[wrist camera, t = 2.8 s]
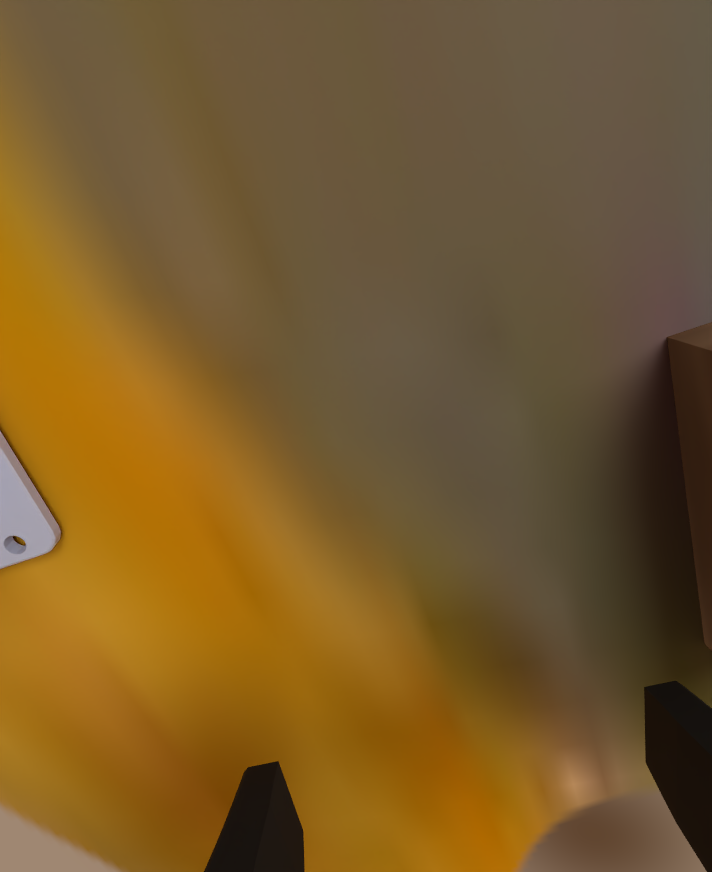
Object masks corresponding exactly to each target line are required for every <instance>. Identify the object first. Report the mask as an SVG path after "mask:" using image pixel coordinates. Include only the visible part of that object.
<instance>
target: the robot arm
mask: <svg viewBox="0 0 712 872" xmlns="http://www.w3.org/2000/svg"><path fill="white" fill-rule="evenodd" d="M13 536H18V537H20V538H22V539H23V540H24V541H25V543H26V545H25V546H23V545H20V544H18V543H17V542H16V541H14V539H13ZM60 536H61V531H60V528H59V525H58V524H57V522H56V521H55V519H54V517H53V516H52V514H51V512H50V511H49V509H48V508H47V506H46V504H45V503H44V501H43V499H42V498H41V496H40V495H39V493H38V491H37V490H36V488H35V486H34V485H33V483H32V482H31V480H30V478H29V477H28V475H27V473H26V472H25V470H24V469H23V467H22V465H21V464H20V462H19V460H18V459H17V457H16V456H15V454H14V452H13V451H12V449H11V448H10V446H9V444H8V443H7V441H6V439H5V438H4V436H3V435H2V433H1V431H0V569H1V568H4V567H7V566H10V565H13V564H16V563H19V562H22V561H25V560H28V559H31V558H34V557H37V556H40V555H43V554H46V553H48V552H49V551H51V550H52V549H53V548H54V547H55V545H56V544H57V543H58V541H59V540H60ZM644 694H645V750H646V764H647V766H648V768H649V770H650V772H651V774H652V776H653V778H654V780H655V782H656V784H657V786H658V788H659V790H660V792H661V794H662V796H663V798H664V800H665V802H666V804H667V806H668V808H669V810H670V811H671V813H672V815H673V817H674V819H675V821H676V823H677V824H678V826H679V828H680V829H681V831H682V833H683V834H684V836H685V837H686V839H687V841H688V842H689V844H690V845H691V847H692V849H693V850H694V852H695V853H696V855H697V856H698V858H699V859H700V861H701V863H702V864H703V866H704V867H705V869H706V871H707V872H712V708H710V707H709V706H708V705H707V704H705V703H704V702H703V701H702V700H700V699H699V698H698V697H697V696H695V695H694V694H693V693H692V692H690V691H689V690H688V689H687V688H685V687H684V686H683V685H681V684H680V683H678V682H677V681H672V682H667V683H662V684H657V685H652V686H647V687H644ZM204 872H304V841H303V829H302V826H301V823H300V821H299V818H298V815H297V812H296V809H295V807H294V804H293V801H292V798H291V795H290V793H289V790H288V787H287V784H286V781H285V779H284V776H283V773H282V770H281V767H280V765H279V762H278V761H277V762H272V763H267V764H262V765H257V766H252V767H248V768H247V769H246V771H245V772H244V774H243V776H242V779H241V782H240V785H239V787H238V790H237V793H236V795H235V798H234V800H233V803H232V806H231V808H230V811H229V813H228V816H227V818H226V821H225V823H224V826H223V828H222V831H221V833H220V836H219V838H218V840H217V843H216V845H215V848H214V850H213V853H212V855H211V857H210V859H209V862H208V864H207V866H206V868H205V871H204Z"/></svg>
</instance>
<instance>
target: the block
mask: <svg viewBox="0 0 712 872" xmlns="http://www.w3.org/2000/svg"><path fill="white" fill-rule="evenodd" d="M667 342H668V350H669V358H670V366H671V374H672V382H673V391H674V399H675V407H676V415H677V423H678V431H679V440H680V448H681V456H682V464H683V472H684V480H685V489H686V497H687V505H688V513H689V521H690V529H691V537H692V546H693V554H694V562H695V570H696V578H697V586H698V595H699V603H700V611H701V619H702V627H703V635H704V644H705V645H706V646H707V647H708V648H709V649H710V650H711V651H712V322H711V323H708V324H705V325H702V326H699V327H696V328H693V329H690V330H687V331H684V332H681V333H678V334H675V335H672V336H669V337H667Z"/></svg>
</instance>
